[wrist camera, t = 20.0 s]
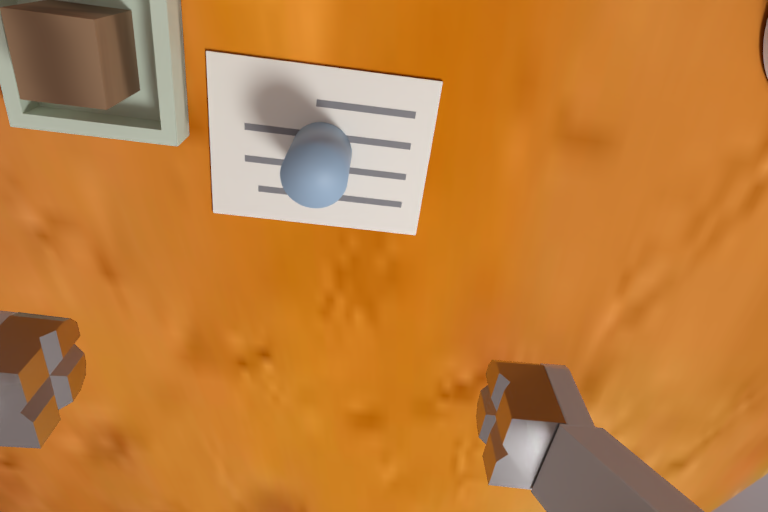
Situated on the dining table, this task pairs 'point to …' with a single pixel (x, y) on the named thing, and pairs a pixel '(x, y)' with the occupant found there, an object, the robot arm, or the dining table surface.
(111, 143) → the dining table surface
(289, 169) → the blue cylinder
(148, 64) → the tray
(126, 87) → the walnut block
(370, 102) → the letter
